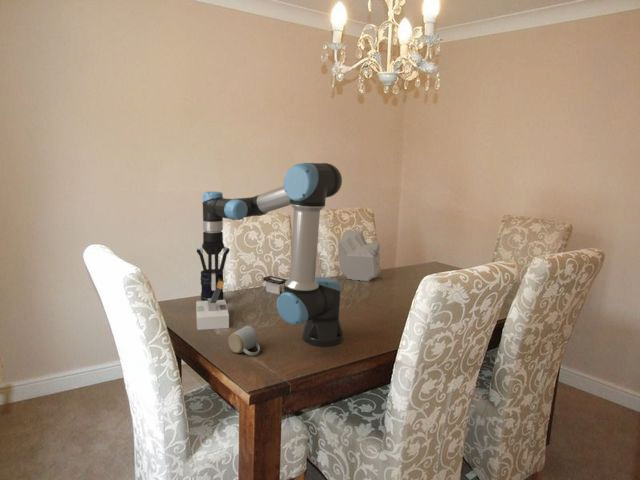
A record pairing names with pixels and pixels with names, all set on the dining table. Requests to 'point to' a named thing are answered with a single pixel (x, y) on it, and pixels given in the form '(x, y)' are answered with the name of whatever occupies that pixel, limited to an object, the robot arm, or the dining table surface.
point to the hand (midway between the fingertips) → (213, 289)
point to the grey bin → (274, 284)
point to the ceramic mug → (244, 341)
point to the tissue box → (358, 257)
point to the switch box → (212, 315)
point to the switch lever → (217, 291)
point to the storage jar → (209, 286)
